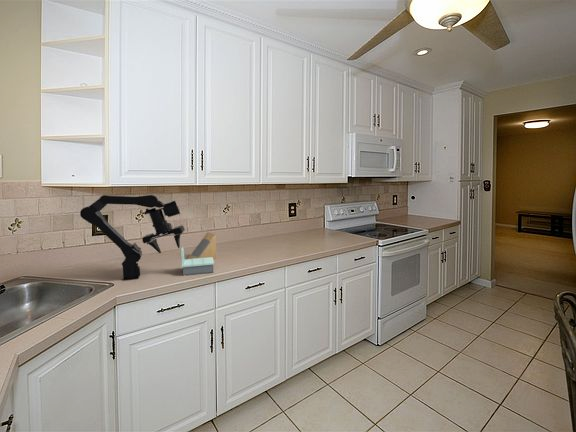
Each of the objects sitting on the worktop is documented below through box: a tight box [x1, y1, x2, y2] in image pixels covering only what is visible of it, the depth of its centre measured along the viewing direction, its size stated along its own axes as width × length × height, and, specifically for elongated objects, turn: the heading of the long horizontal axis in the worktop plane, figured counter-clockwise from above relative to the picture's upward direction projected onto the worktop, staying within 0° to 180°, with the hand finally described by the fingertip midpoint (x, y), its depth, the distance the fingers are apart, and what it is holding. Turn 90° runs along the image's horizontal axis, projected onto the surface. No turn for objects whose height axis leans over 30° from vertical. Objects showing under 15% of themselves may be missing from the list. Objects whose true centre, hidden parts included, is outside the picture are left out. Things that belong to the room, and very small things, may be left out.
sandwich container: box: [187, 231, 217, 261], centre depth 165 cm, size 9×15×15 cm, turn 138°
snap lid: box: [180, 246, 215, 268], centre depth 146 cm, size 15×11×8 cm
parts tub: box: [182, 265, 214, 276], centre depth 147 cm, size 14×10×4 cm
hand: (169, 250), depth 142 cm, fingers open, 9 cm apart
